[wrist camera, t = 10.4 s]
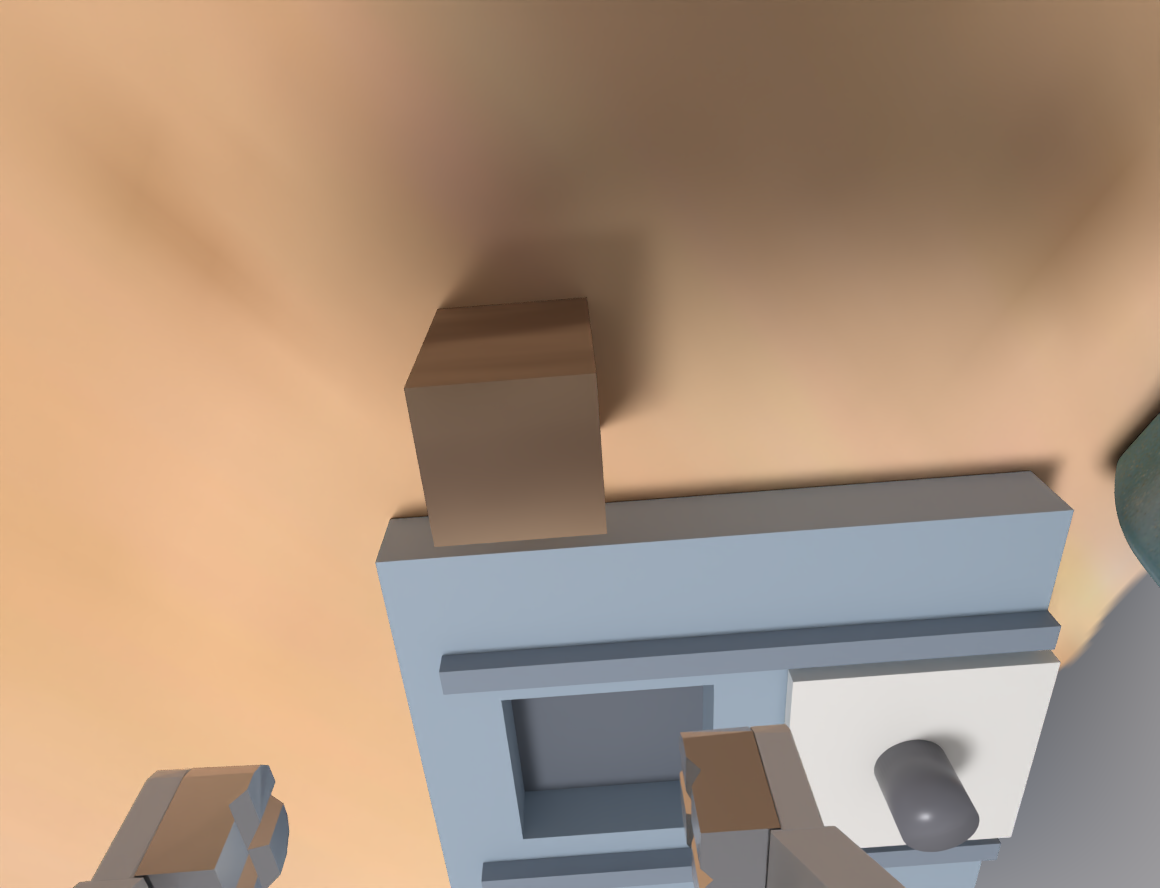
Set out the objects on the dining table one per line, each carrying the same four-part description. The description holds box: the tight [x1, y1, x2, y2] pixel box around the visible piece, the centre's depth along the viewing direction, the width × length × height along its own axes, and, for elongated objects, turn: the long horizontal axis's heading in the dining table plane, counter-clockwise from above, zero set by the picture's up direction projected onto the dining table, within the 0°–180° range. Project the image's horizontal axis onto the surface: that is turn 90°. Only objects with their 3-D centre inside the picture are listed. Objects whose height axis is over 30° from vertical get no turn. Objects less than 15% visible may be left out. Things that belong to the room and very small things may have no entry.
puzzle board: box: [375, 471, 1074, 888], centre depth 30 cm, size 20×22×3 cm
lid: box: [784, 650, 1060, 852], centre depth 28 cm, size 9×9×3 cm
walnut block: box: [404, 297, 607, 547], centre depth 22 cm, size 4×4×6 cm
